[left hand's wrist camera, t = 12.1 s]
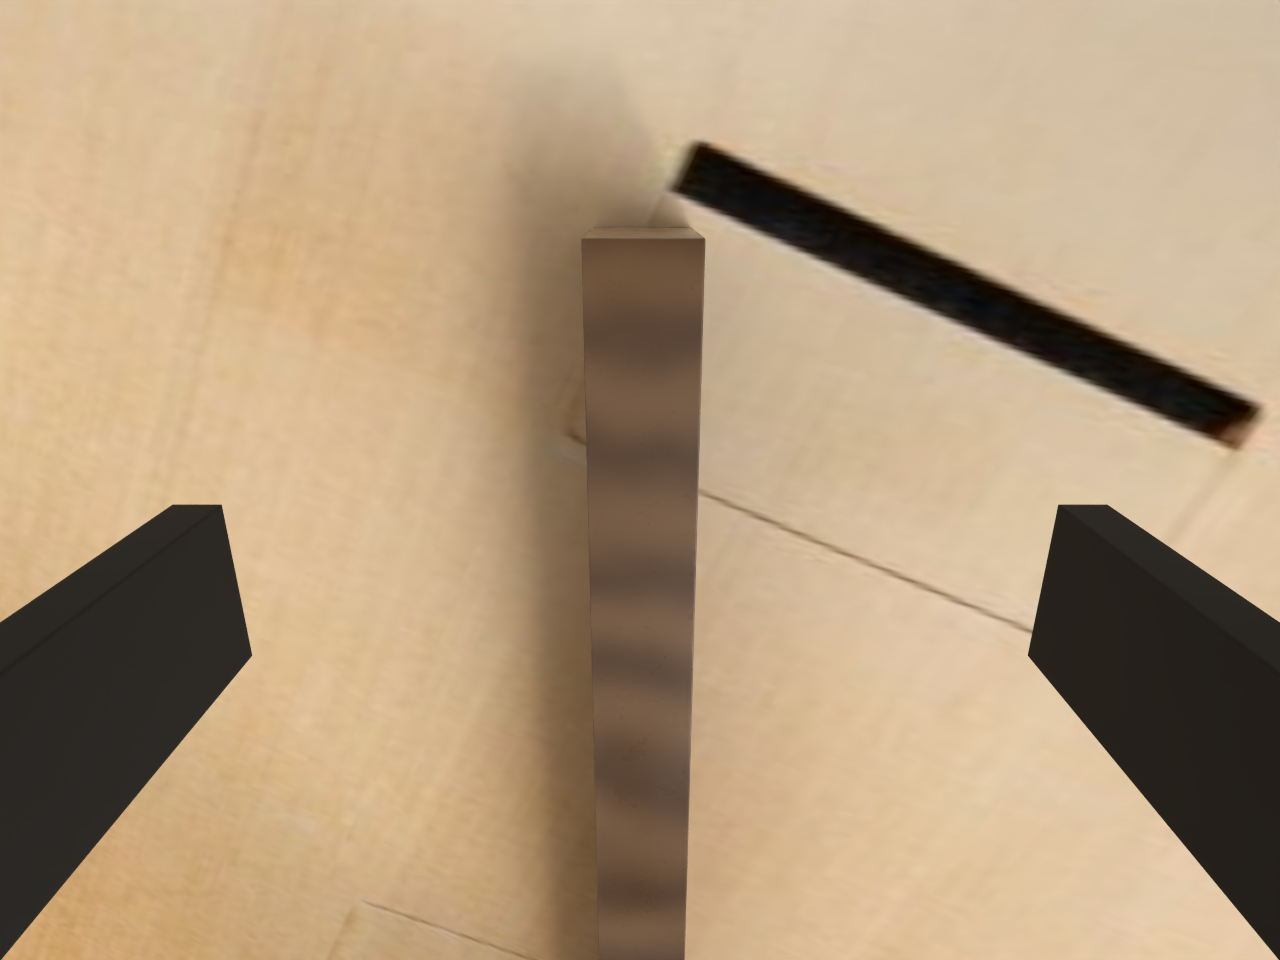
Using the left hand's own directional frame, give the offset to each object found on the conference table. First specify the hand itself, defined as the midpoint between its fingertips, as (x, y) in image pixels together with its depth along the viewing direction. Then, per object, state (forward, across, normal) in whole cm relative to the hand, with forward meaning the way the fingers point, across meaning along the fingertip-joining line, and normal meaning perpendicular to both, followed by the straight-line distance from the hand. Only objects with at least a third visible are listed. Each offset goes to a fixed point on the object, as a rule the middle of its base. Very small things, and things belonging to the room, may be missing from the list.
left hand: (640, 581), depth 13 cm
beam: (+27, 0, -32) cm, 42 cm away
